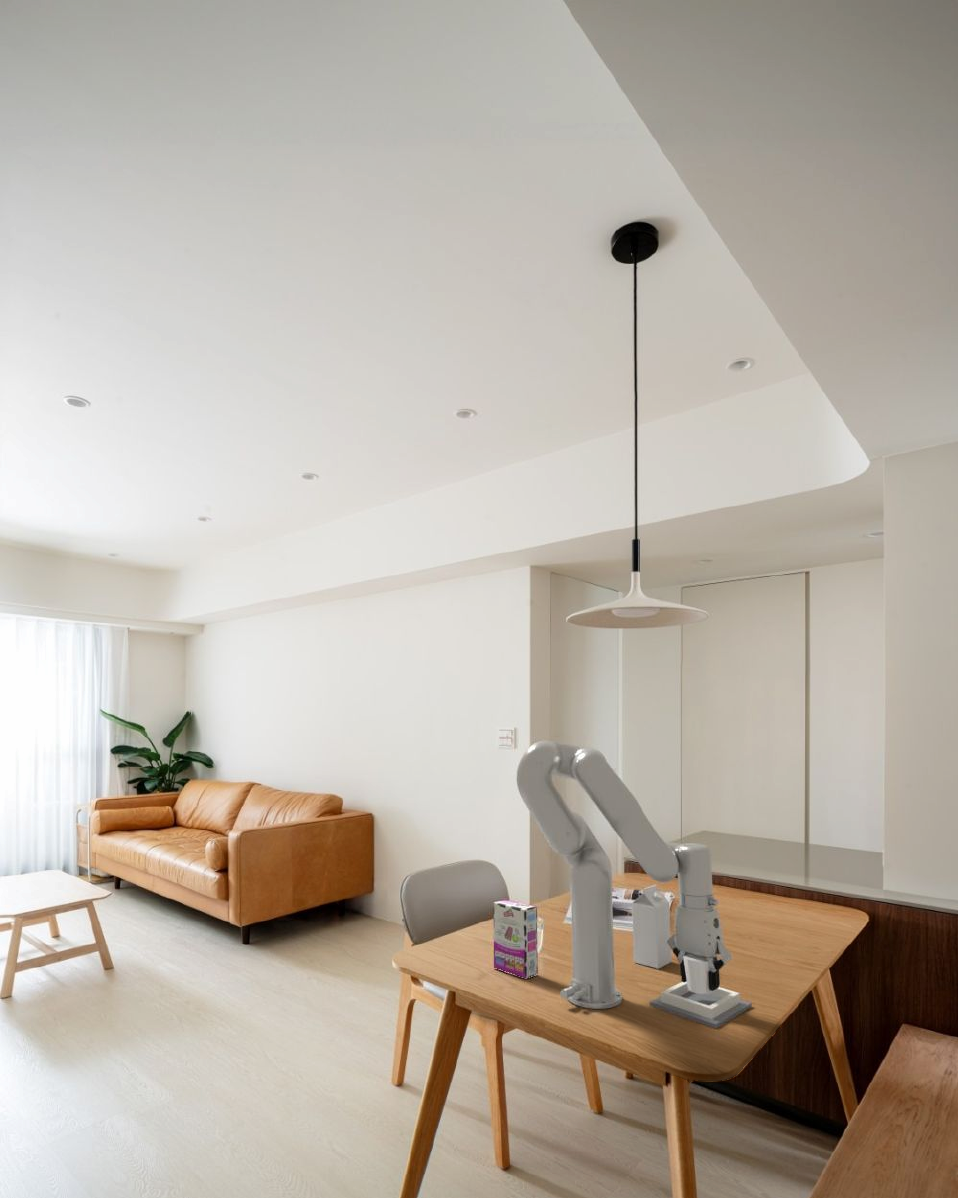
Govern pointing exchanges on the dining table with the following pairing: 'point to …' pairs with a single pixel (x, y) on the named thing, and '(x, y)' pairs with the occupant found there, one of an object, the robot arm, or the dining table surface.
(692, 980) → the white cup
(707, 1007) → the holder tray
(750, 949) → the dining table surface
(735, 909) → the dining table surface
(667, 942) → the robot arm
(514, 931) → the candy bar box
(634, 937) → the milk carton
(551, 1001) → the dining table surface
